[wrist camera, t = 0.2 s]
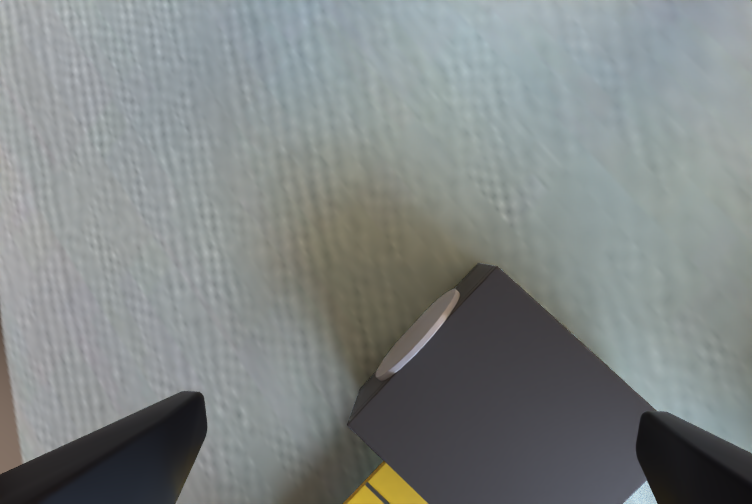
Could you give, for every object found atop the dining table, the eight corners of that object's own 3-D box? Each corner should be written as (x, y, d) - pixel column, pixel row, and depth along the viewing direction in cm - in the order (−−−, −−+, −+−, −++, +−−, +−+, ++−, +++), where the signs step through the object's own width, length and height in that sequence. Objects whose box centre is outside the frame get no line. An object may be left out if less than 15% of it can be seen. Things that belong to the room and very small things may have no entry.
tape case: (500, 519, 24) (530, 609, 18) (356, 382, 25) (339, 425, 19) (623, 395, 23) (696, 445, 17) (473, 258, 24) (494, 261, 18)
